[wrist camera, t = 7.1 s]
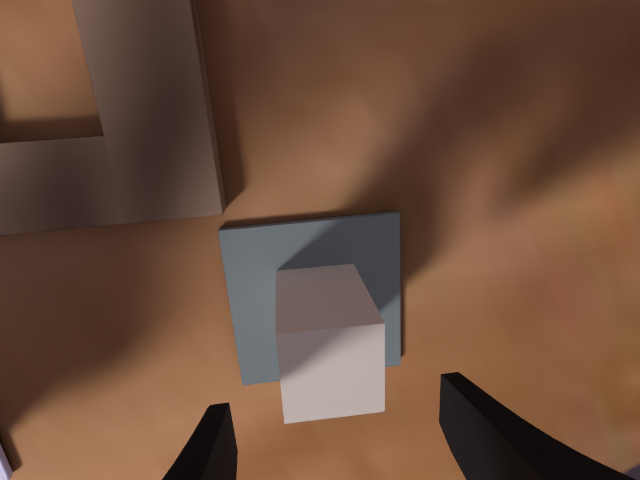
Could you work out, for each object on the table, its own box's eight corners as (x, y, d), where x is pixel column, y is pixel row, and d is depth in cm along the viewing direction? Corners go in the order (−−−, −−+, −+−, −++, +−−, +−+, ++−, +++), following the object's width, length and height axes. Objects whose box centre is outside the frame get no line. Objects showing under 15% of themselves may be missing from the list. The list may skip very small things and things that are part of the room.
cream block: (282, 339, 21) (284, 423, 15) (275, 270, 19) (275, 334, 14) (355, 331, 21) (384, 411, 15) (353, 263, 20) (384, 323, 14)
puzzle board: (-84, 235, 17) (-115, 245, 16) (-232, -118, 13) (-292, -146, 12) (226, 207, 19) (222, 214, 17) (176, -127, 14) (166, -153, 13)
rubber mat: (243, 379, 22) (242, 385, 21) (219, 228, 19) (217, 230, 18) (397, 360, 22) (400, 365, 22) (397, 211, 20) (400, 213, 19)
